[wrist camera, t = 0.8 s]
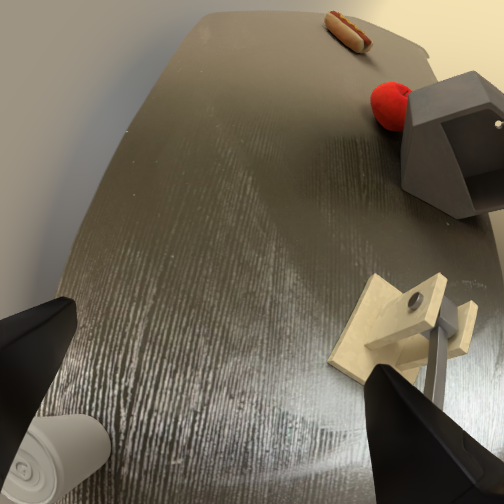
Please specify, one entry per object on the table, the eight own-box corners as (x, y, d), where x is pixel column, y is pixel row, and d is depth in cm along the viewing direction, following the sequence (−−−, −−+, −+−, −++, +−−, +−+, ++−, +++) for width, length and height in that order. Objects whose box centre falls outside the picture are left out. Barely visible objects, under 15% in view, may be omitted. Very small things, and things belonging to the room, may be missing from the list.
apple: (354, 118, 43) (376, 81, 36) (370, 100, 46) (389, 67, 40) (399, 150, 42) (425, 116, 35) (410, 128, 45) (432, 97, 39)
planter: (371, 141, 34) (532, 90, 19) (372, 106, 37) (509, 59, 22) (423, 227, 42) (549, 199, 28) (421, 189, 46) (535, 160, 31)
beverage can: (103, 477, 19) (50, 527, 8) (51, 450, 18) (-27, 474, 8) (119, 428, 21) (70, 451, 10) (67, 402, 21) (-10, 399, 10)
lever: (435, 460, 14) (465, 449, 13) (383, 433, 15) (413, 421, 13) (448, 330, 23) (468, 315, 22) (408, 300, 24) (428, 282, 22)
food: (316, 24, 57) (323, 6, 53) (335, 26, 59) (342, 10, 55) (352, 56, 53) (361, 37, 49) (371, 58, 55) (380, 40, 50)
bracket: (397, 406, 26) (472, 398, 17) (326, 362, 27) (389, 340, 18) (430, 322, 30) (495, 292, 22) (369, 277, 31) (428, 231, 23)
